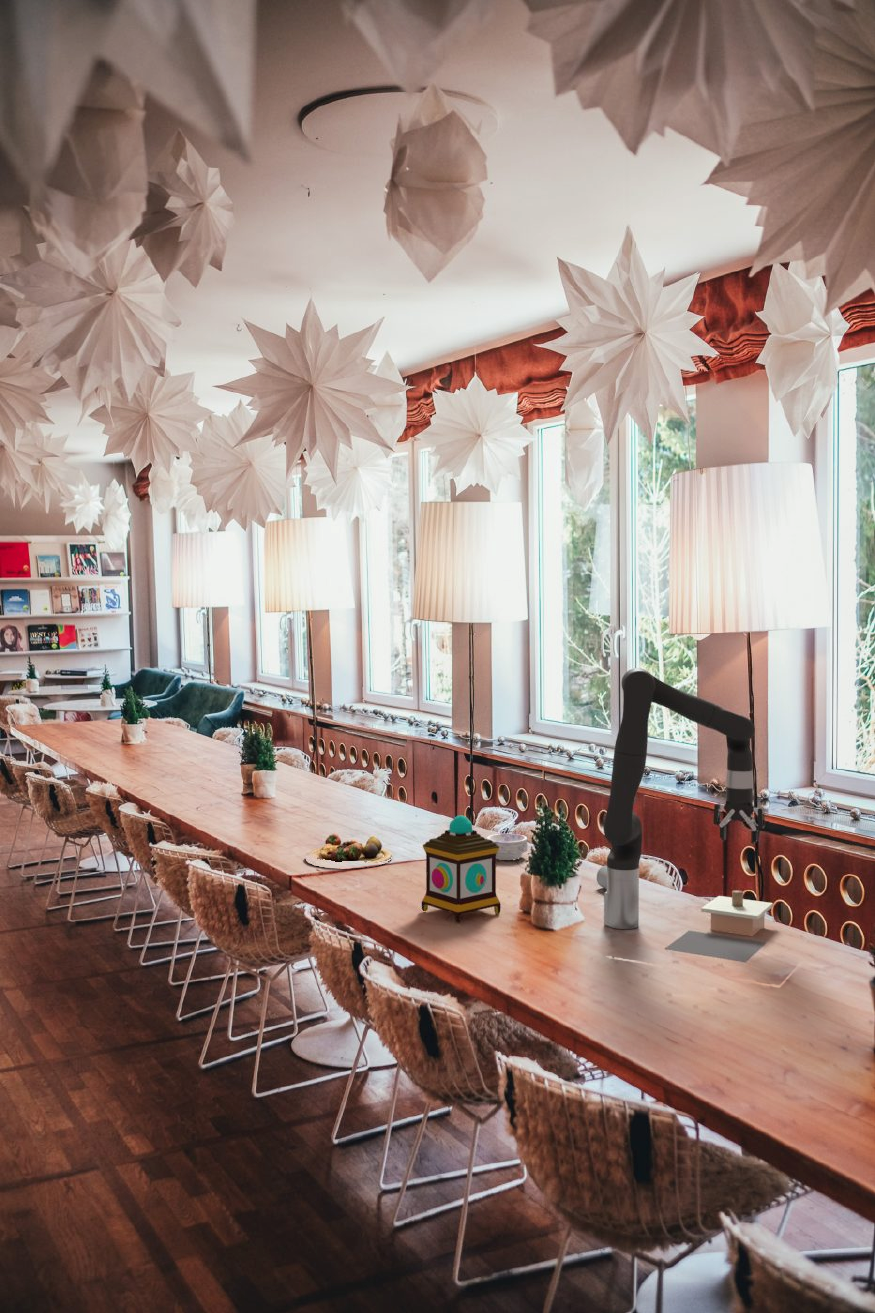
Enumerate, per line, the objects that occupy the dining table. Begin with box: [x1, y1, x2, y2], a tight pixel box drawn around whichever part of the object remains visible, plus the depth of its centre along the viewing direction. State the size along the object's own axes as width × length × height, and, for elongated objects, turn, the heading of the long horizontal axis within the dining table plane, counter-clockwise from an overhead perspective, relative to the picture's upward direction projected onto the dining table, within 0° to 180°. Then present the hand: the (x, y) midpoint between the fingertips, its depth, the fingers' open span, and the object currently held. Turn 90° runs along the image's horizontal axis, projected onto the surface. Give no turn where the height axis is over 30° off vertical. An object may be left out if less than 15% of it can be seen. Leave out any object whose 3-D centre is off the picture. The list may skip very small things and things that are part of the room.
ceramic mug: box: [596, 864, 607, 891], centre depth 368 cm, size 11×8×8 cm
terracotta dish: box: [710, 913, 766, 937], centre depth 323 cm, size 12×12×6 cm
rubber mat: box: [664, 930, 767, 963], centre depth 306 cm, size 22×20×1 cm
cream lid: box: [700, 890, 774, 920], centre depth 323 cm, size 16×16×5 cm
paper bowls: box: [485, 833, 528, 861], centre depth 415 cm, size 15×15×8 cm
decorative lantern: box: [421, 814, 502, 924], centre depth 340 cm, size 20×20×30 cm
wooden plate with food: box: [308, 833, 393, 863], centre depth 414 cm, size 32×32×8 cm
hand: (738, 841), depth 322 cm, fingers open, 8 cm apart
